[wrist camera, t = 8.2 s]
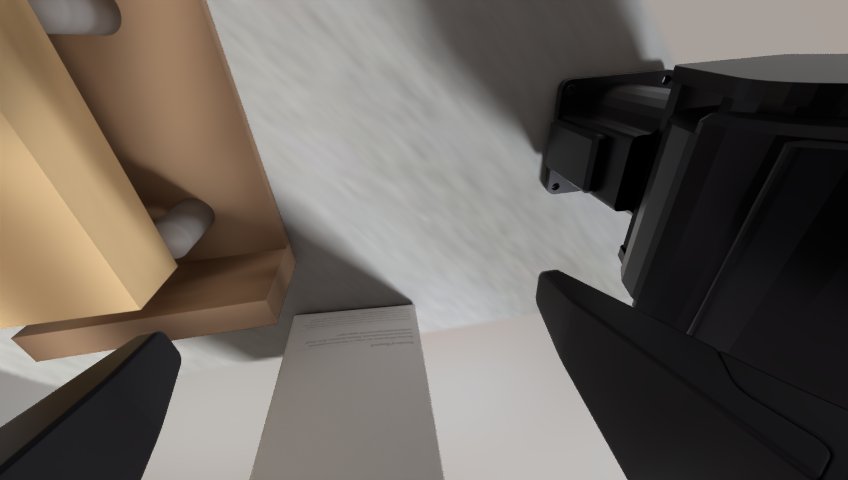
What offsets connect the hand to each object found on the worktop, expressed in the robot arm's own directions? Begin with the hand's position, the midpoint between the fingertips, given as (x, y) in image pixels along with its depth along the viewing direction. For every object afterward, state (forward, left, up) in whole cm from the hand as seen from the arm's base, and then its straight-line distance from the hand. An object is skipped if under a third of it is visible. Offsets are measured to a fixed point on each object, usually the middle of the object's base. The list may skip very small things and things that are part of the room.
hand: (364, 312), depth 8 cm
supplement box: (+3, +15, -12) cm, 20 cm away
